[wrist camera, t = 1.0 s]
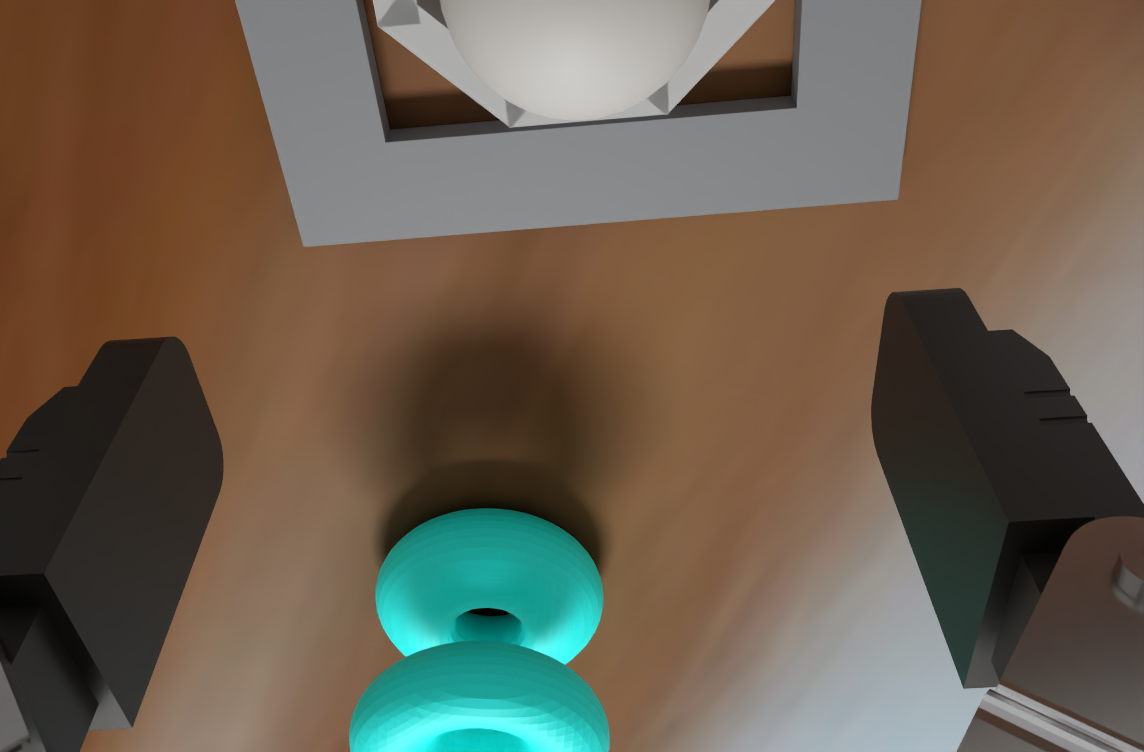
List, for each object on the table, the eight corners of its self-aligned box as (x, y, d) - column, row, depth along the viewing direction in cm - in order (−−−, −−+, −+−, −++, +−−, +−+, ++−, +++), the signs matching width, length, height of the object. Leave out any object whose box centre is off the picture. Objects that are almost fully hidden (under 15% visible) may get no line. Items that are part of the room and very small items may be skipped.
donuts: (626, 702, 36) (596, 849, 42) (614, 500, 44) (590, 649, 50) (337, 687, 35) (348, 839, 41) (378, 486, 43) (382, 638, 49)
